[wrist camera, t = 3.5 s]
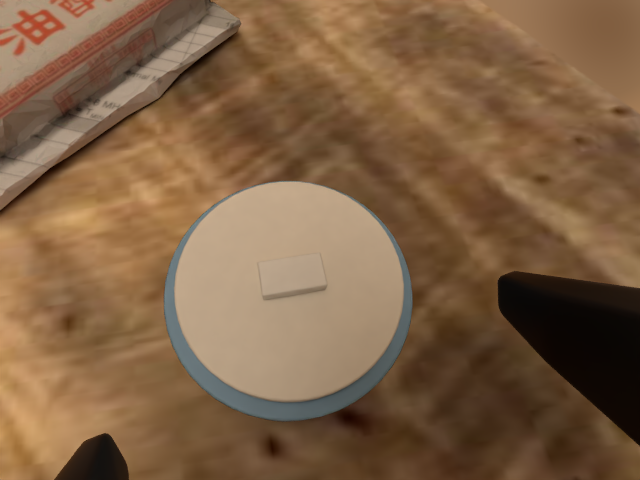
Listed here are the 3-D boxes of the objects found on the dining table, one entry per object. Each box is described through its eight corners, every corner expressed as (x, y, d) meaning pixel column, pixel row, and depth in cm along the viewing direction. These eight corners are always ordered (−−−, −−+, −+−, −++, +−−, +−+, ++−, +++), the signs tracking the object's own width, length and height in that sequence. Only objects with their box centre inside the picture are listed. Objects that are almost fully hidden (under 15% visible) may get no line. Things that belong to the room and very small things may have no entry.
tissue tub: (367, 284, 20) (429, 183, 11) (351, 433, 17) (418, 444, 9) (232, 262, 20) (195, 142, 11) (195, 407, 17) (108, 393, 9)
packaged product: (105, -122, 23) (235, -43, 22) (133, -36, 28) (243, 36, 26) (-247, 40, 17) (-102, 175, 15) (-137, 120, 21) (-15, 231, 19)
